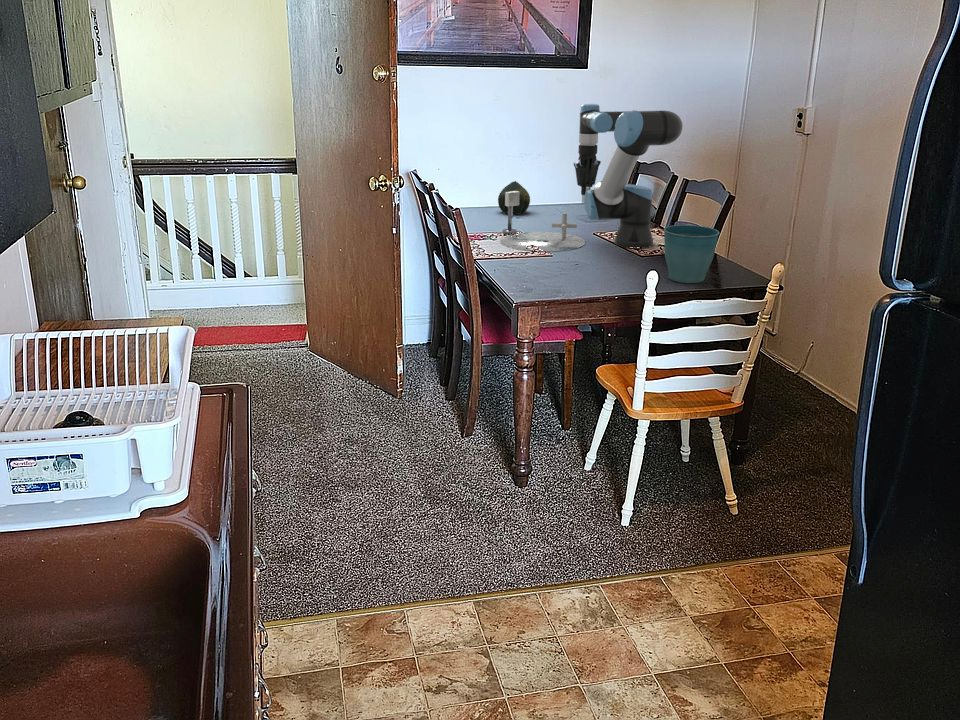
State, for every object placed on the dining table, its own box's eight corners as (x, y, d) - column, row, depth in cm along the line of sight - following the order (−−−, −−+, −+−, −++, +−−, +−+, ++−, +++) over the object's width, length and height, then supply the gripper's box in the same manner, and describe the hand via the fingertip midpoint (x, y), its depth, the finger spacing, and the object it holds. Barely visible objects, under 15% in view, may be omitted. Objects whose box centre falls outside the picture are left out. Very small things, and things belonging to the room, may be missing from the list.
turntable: (602, 244, 341) (603, 243, 341) (536, 255, 323) (536, 254, 323) (548, 229, 367) (548, 228, 367) (484, 239, 349) (484, 238, 349)
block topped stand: (519, 233, 360) (520, 191, 354) (508, 234, 356) (508, 193, 350) (510, 230, 364) (511, 189, 358) (499, 232, 361) (500, 191, 355)
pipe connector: (575, 235, 355) (577, 211, 351) (576, 240, 346) (577, 215, 342) (551, 234, 356) (552, 210, 352) (551, 239, 347) (552, 215, 343)
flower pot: (705, 272, 301) (710, 224, 295) (721, 286, 284) (726, 236, 278) (654, 272, 301) (658, 224, 295) (667, 286, 284) (671, 236, 278)
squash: (510, 205, 388) (525, 178, 391) (487, 202, 399) (502, 175, 401) (526, 223, 398) (541, 196, 401) (504, 219, 408) (518, 193, 411)
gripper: (594, 142, 350) (590, 199, 359) (569, 144, 343) (567, 203, 352) (606, 144, 344) (603, 202, 353) (582, 146, 337) (579, 206, 346)
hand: (585, 202), depth 352 cm, fingers closed
